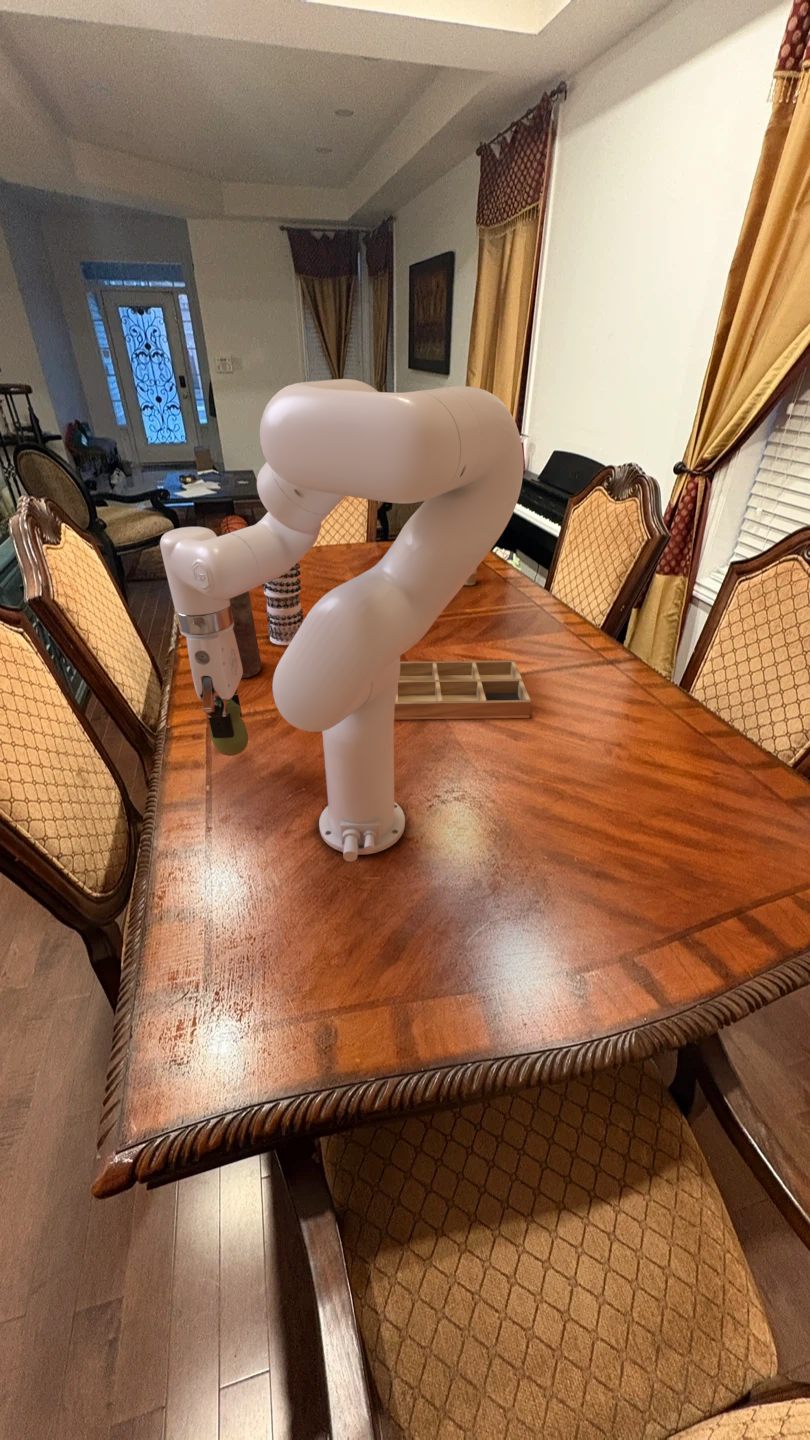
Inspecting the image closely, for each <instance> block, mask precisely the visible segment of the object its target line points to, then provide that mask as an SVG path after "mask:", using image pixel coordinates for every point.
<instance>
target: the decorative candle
mask: <svg viewBox="0 0 810 1440" xmlns="http://www.w3.org/2000/svg"><path fill="white" fill-rule="evenodd" d="M299 569H301V565H300V563H299V562H297V563H296V564H295V565H294V566H293V567H292V568H291V569H290V570H289V571H288V572H286V573H285V574H284V575H282V576H281V577H279V578H277V579H274V580H272V581H270V582H267V583H265V584H263V585H261V586H263V594H264V595H265V598H266V611H265V615H266V616H267V617H266V621H267V622H268V624H267V630H268V636H269V642H270V643H272V644H275V645H278V646H289V644H290V643H291V641H292V639H293V638H294V636H295V634H296V633H297V631H298V629H299V628H300V626H301V624H302V623H303V621H304V619H305V617H304V609H303V608H302V603H301V600H300V593H301V591H302V586H301V585H300V584H301V583H302V582H301V579H300V578H299V576H301V570H299Z"/></svg>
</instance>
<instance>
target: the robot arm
mask: <svg viewBox="0 0 810 1440" xmlns="http://www.w3.org/2000/svg"><path fill="white" fill-rule="evenodd" d="M259 443H260V447H261V451H262V454H263V457H264V459H265V461H266V462H265V463H264V464H263V465H262V466H261V468H260V469H259V472H258V474H257V476H256V477H257V479H256V489H257V494H258V497H259V499H260V502H261V503H262V504H263V507H264V508H265V509H266V511H267V512H266V513H265V515H264V516H263V517H262V518H261V519H260V520H258V521H257V523H255V524H253V525H249V526H246V527H243V528H240V529H237V530H234V531H231V532H229V533H225V534H222V535H219V536H218V535H217V534H216V532H215V531H213V530H212V529H210V528H208V527H203V526H184V527H179V528H178V527H177V528H175V529H171V530H169V531H166V532H165V533H163V535H162V536H161V538H160V541H159V547H160V552H161V556H162V557H161V558H162V560H163V566H164V570H165V574H166V578H167V582H168V586H169V590H170V594H171V599H172V603H173V607H174V612H175V615H176V620H177V625H178V629H179V633H180V634H181V635H182V636H183V637H185V639H186V647H187V653H188V659H189V665H190V671H191V677H192V681H193V685H194V689H195V693H196V696H197V698H198V699H199V700H200V701H202V710H203V712H204V713H206V715H207V718H208V721H209V726H210V727H211V731H212V735H213V737H214V738H232V737H233V736H234V729H233V724H232V720H231V715H230V713H228V711H227V702H226V699H227V700H229V699H232V700H233V701H234V702H235V703H236V704H237V705H239V706H240V708H241V702H240V696H239V694H238V687H239V685H240V682H241V680H242V678H241V677H242V674H243V668H242V663H241V659H240V655H239V650H238V646H237V642H236V638H235V634H234V631H233V626H234V622H233V616H232V610H231V605H230V600H229V599H230V598H233V597H236V596H238V595H240V594H243V593H245V592H247V591H249V592H250V591H251V590H254V589H256V588H258V587H261V586H262V585H263V584H265V583H267V582H270V581H272V580H274V579H277V578H279V577H281V576H282V575H284V574H285V573H286V572H288V571H289V570H290V569H291V568H292V567H293V566H294V565H295V564H296V563H299V561H301V560H302V558H303V557H304V556H306V555H307V554H308V552H309V551H310V550H311V549H312V548H313V547H314V545H315V544H316V542H317V541H318V538H319V536H320V532H321V528H322V522H323V521H324V520H325V519H326V518H327V517H328V516H329V515H330V514H331V513H332V511H333V510H334V509H336V507H337V506H338V505H339V504H340V503H341V502H342V501H343V500H344V499H345V498H346V497H352V498H358V499H365V500H370V501H377V502H383V503H392V504H401V505H403V504H415V503H421V504H420V506H419V507H418V508H417V509H416V510H415V512H414V513H413V514H412V515H411V516H410V518H409V519H408V520H407V521H406V522H405V524H404V525H403V527H402V528H401V530H400V532H399V534H398V535H397V536H396V539H395V540H394V541H393V543H392V544H391V546H390V547H389V548H388V550H387V551H386V552H385V554H384V555H383V557H382V558H381V559H380V560H379V561H378V562H377V563H376V564H375V565H374V566H372V567H371V568H369V569H368V570H366V571H364V572H362V573H361V574H359V575H357V576H355V577H353V578H350V579H348V580H347V581H345V582H343V583H341V584H339V585H338V586H336V587H334V588H333V589H331V590H329V591H328V592H327V593H325V594H324V595H323V596H321V598H319V600H318V601H317V602H316V603H315V604H314V605H313V606H312V607H311V608H310V610H309V612H307V615H306V616H305V617H304V619H303V620H302V621H303V623H302V624H301V626H300V628H299V629H298V631H297V633H296V634H295V636H294V638H293V639H292V641H291V643H290V644H289V645H287V648H286V649H285V651H284V653H283V654H282V656H281V657H280V660H278V662H277V666H276V668H275V670H274V673H273V676H272V684H271V685H272V686H271V687H272V696H273V700H274V704H275V706H276V709H277V711H278V712H279V714H280V716H281V717H282V718H283V719H284V720H285V721H286V722H287V723H288V724H289V725H291V726H292V727H294V728H296V729H298V730H300V731H303V732H309V733H319V732H322V733H321V735H322V743H323V746H322V747H323V757H324V759H323V760H324V770H325V781H326V782H325V783H326V794H327V804H328V805H326V807H325V808H323V811H322V812H321V813H320V816H319V822H318V828H319V833H320V836H321V838H322V840H323V841H324V842H325V843H326V844H327V845H328V846H329V847H331V848H332V849H334V850H336V851H338V852H340V853H342V859H343V860H344V861H346V862H351V863H353V862H355V861H356V860H357V859H358V856H360V855H362V856H364V855H372V854H376V853H379V852H382V851H385V850H387V849H388V848H391V847H392V846H394V844H396V843H397V842H398V841H399V839H401V837H402V835H403V834H404V831H405V828H406V816H405V813H404V810H403V809H402V807H401V806H400V805H399V804H398V802H396V801H395V720H394V709H395V699H396V693H397V688H398V682H399V676H400V662H401V656H402V655H403V654H405V653H406V652H407V651H409V650H411V648H413V647H414V646H415V645H416V644H418V642H420V641H422V639H423V638H424V636H426V634H427V633H428V632H429V630H430V629H431V627H432V626H433V625H434V623H435V622H436V620H437V619H438V618H439V617H440V616H441V614H442V613H443V611H444V610H445V609H446V608H447V606H448V605H449V604H450V603H451V602H452V600H453V599H454V598H455V597H456V596H457V594H458V593H459V591H461V589H462V588H463V586H465V585H464V584H465V582H466V581H467V579H468V578H469V577H470V576H471V574H472V573H473V572H474V570H475V569H476V568H478V567H479V566H480V564H481V563H482V562H483V560H485V558H486V557H487V555H488V554H489V553H490V552H491V550H492V549H493V548H494V546H495V545H496V543H497V541H499V539H500V537H502V534H503V533H504V531H505V529H506V528H507V526H508V524H509V522H510V520H511V518H512V516H513V515H514V511H515V509H516V507H517V503H518V501H519V497H520V494H521V489H522V484H523V478H524V451H523V444H522V439H521V434H520V431H519V428H518V426H517V423H516V421H515V419H514V417H513V415H512V413H511V412H510V410H509V408H508V407H507V406H506V405H505V403H504V402H503V401H502V400H501V399H500V398H498V396H496V395H495V394H493V393H491V392H490V391H488V390H486V389H483V388H480V387H476V386H467V385H454V386H446V387H445V386H444V387H438V388H437V387H436V388H430V389H422V390H414V391H406V392H387V391H386V392H385V391H378V389H376V388H374V387H373V386H372V385H370V384H368V383H366V382H364V381H361V380H358V379H350V378H338V379H337V378H336V379H326V380H313V381H302V382H294V383H292V384H290V385H287V386H284V387H283V388H282V389H280V390H278V392H276V393H275V394H274V395H273V396H272V397H271V399H270V400H269V401H268V403H267V404H266V406H265V408H264V411H263V413H262V416H261V420H260V425H259ZM422 502H423V503H422ZM476 570H477V569H476ZM215 694H217V695H215ZM214 701H221V707H220V706H219V705H215V703H214ZM241 709H242V708H241ZM242 716H243V712H242V711H241V713H240V717H241V718H242Z"/></svg>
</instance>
